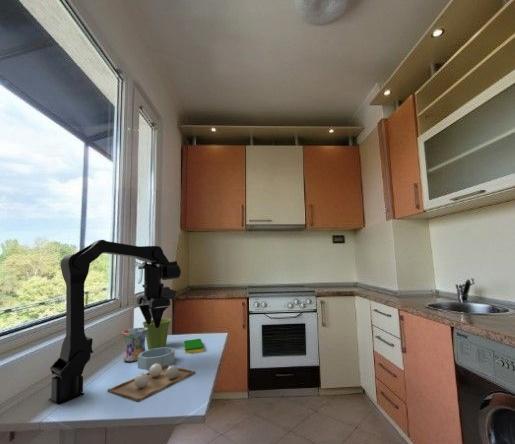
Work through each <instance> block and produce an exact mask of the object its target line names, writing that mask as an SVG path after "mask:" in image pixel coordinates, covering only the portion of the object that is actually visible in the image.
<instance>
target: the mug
mask: <svg viewBox="0 0 515 444" xmlns="http://www.w3.org/2000/svg"><path fill="white" fill-rule="evenodd" d="M147 330H148V328H144V327H134V328H129V329H125V330H122V331H121V335H122V336H123V339H124V343H125V353H124V356H123V357H122V360H123V361H125V362H131V363H132V362H138V356H139V354H140V353H141V352H144V351H147V350H146V345H145V344H146V343H145V342H146V333H147Z"/></svg>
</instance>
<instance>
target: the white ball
mask: <svg viewBox="0 0 515 444" xmlns="http://www.w3.org/2000/svg"><path fill="white" fill-rule="evenodd" d="M148 372H149V373H150V375H151V376H152V377H157V376H159V375H160V374H161V372H162V366H161V365H160V364H158V363H156V364H153V365H152V366H151V367H150V369H149V370H148Z"/></svg>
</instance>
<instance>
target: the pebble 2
mask: <svg viewBox="0 0 515 444" xmlns="http://www.w3.org/2000/svg"><path fill="white" fill-rule="evenodd" d="M168 366H169V367H168V368H167V370H166V376H167V378H168V379H174V378H176V377H177V375H178V373H179V370H178V368H179V367H178V366H176V365H175V364H171V365H168Z"/></svg>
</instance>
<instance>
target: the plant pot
mask: <svg viewBox="0 0 515 444" xmlns="http://www.w3.org/2000/svg"><path fill="white" fill-rule="evenodd" d="M171 321H172V319H171V318H161V322H160V326H159V328H156V327H155V325H154V322H153V319H151V324H149V325H148V324H147V323H146V321H145V320H144V321H142V322H141V324H142V325H143V328H148V330H147V333H146V337H145V341H146V344H147V345H146V346H147V350H150V349H153V348H161V347H167V342H168V341H167V340H168V333H169V327H170V322H171Z"/></svg>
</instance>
